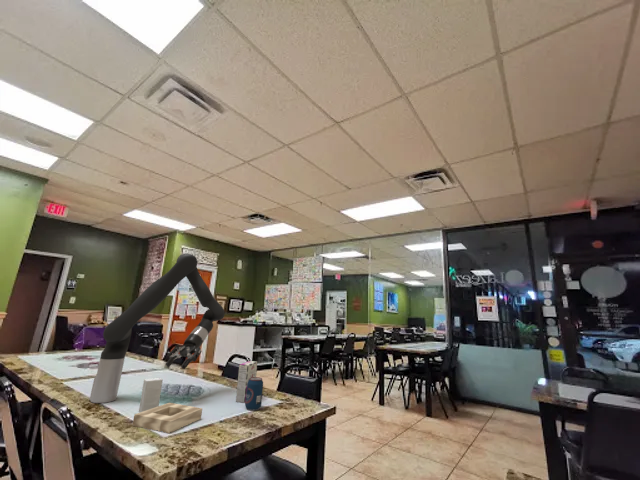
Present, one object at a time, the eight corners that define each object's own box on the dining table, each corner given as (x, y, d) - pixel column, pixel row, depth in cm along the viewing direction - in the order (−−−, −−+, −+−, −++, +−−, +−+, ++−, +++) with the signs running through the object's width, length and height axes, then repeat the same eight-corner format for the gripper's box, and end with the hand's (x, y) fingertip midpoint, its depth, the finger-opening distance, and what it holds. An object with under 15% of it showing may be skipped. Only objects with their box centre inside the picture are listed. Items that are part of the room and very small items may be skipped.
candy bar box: (245, 396, 146) (248, 360, 150) (254, 397, 145) (258, 361, 149) (234, 402, 135) (238, 363, 139) (244, 403, 134) (248, 364, 138)
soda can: (241, 407, 128) (244, 377, 131) (254, 405, 132) (257, 376, 135) (250, 412, 123) (253, 380, 126) (264, 408, 128) (266, 379, 131)
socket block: (132, 425, 103) (134, 414, 104) (167, 412, 117) (169, 402, 118) (168, 433, 98) (170, 421, 99) (201, 418, 113) (202, 408, 113)
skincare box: (154, 409, 120) (159, 377, 123) (157, 412, 117) (163, 379, 120) (137, 411, 116) (143, 379, 119) (140, 414, 113) (146, 381, 116)
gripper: (181, 331, 144) (158, 359, 131) (205, 333, 140) (184, 362, 127) (187, 342, 148) (165, 370, 134) (211, 344, 144) (191, 374, 130)
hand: (174, 366), depth 130 cm, fingers open, 8 cm apart
